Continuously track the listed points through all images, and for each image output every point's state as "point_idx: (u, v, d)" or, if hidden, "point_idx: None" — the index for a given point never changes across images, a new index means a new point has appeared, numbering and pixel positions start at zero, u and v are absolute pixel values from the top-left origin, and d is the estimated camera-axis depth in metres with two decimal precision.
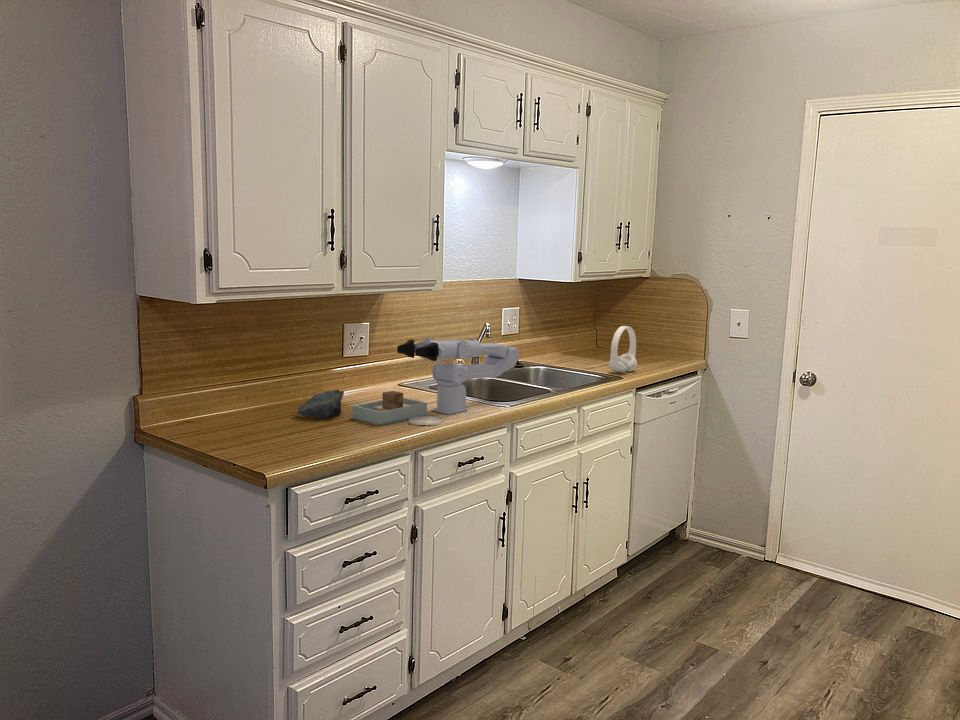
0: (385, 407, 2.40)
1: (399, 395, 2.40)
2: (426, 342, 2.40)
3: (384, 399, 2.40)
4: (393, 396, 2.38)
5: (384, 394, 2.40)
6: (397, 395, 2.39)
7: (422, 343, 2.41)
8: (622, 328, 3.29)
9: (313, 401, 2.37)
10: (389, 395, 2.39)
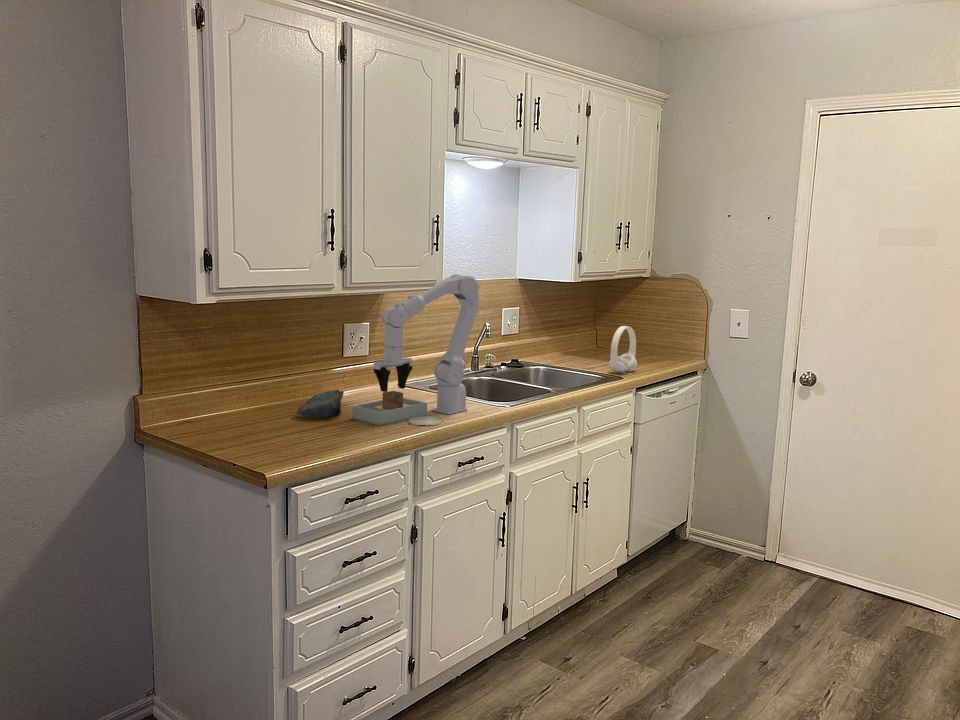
0: (385, 407, 2.40)
1: (399, 395, 2.40)
2: None
3: (384, 399, 2.40)
4: (393, 396, 2.38)
5: (384, 394, 2.40)
6: (397, 395, 2.39)
7: None
8: (622, 328, 3.29)
9: (313, 401, 2.37)
10: (389, 395, 2.39)
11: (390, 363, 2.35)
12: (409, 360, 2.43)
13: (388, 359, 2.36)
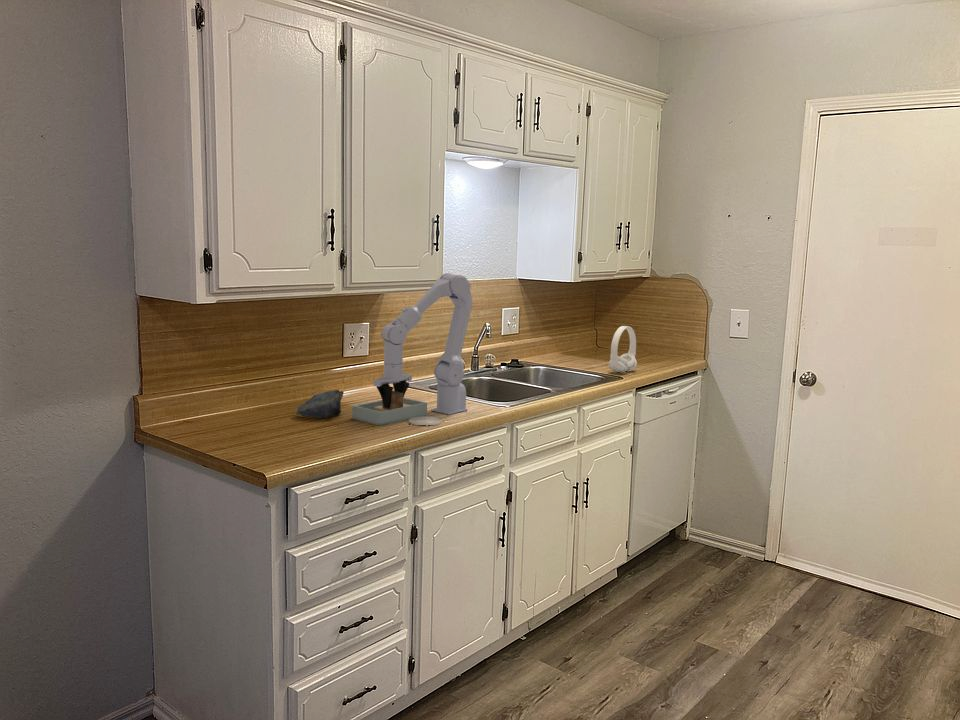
0: None
1: (399, 395, 2.40)
2: None
3: None
4: (393, 396, 2.38)
5: None
6: (397, 395, 2.39)
7: None
8: (622, 328, 3.29)
9: (313, 401, 2.37)
10: None
11: (390, 380, 2.36)
12: (409, 376, 2.44)
13: (388, 376, 2.37)
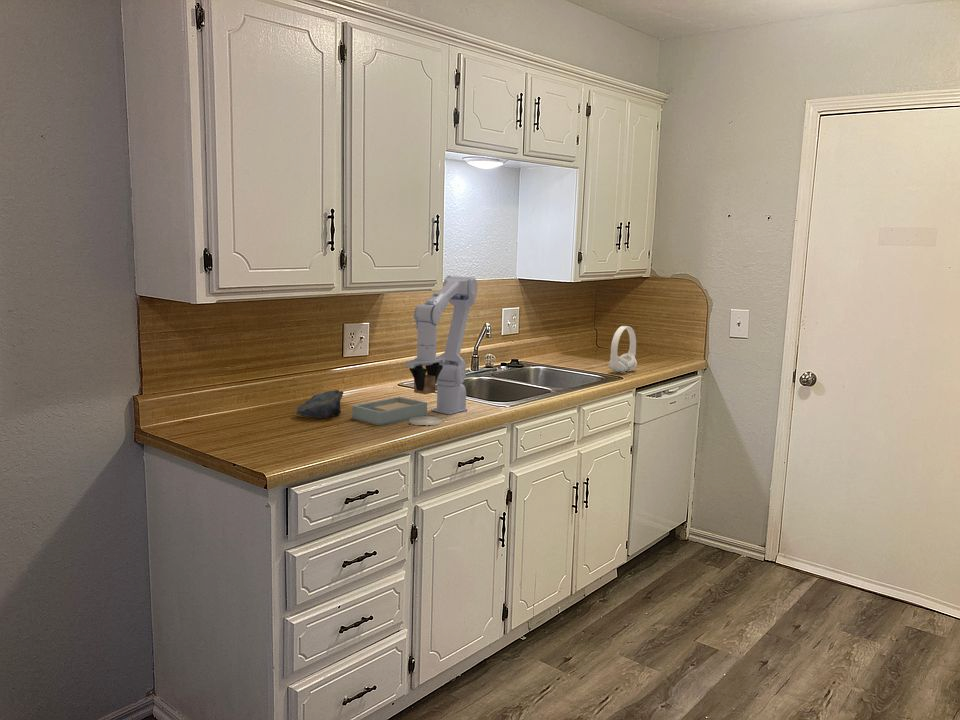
0: (417, 391, 2.34)
1: (431, 378, 2.33)
2: None
3: None
4: (425, 379, 2.31)
5: None
6: (429, 378, 2.33)
7: None
8: (622, 328, 3.29)
9: (313, 401, 2.37)
10: None
11: (424, 362, 2.29)
12: (442, 359, 2.37)
13: (421, 358, 2.30)
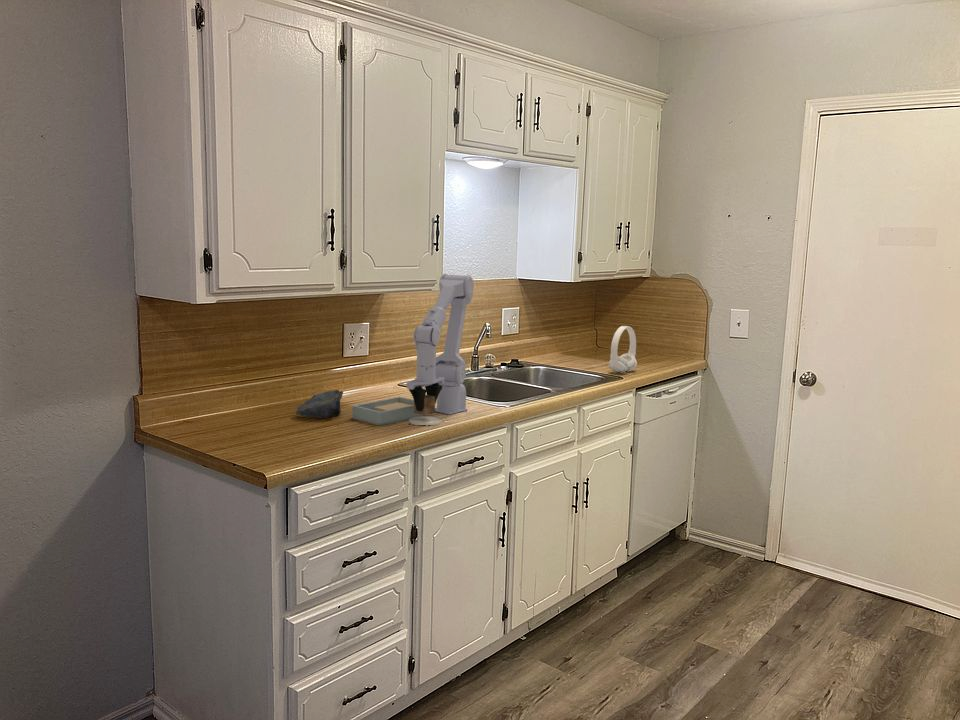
0: (417, 411, 2.34)
1: (431, 399, 2.34)
2: None
3: None
4: (425, 400, 2.32)
5: None
6: (429, 399, 2.33)
7: None
8: (622, 328, 3.29)
9: (312, 401, 2.37)
10: None
11: (423, 383, 2.30)
12: (441, 379, 2.38)
13: (421, 379, 2.31)
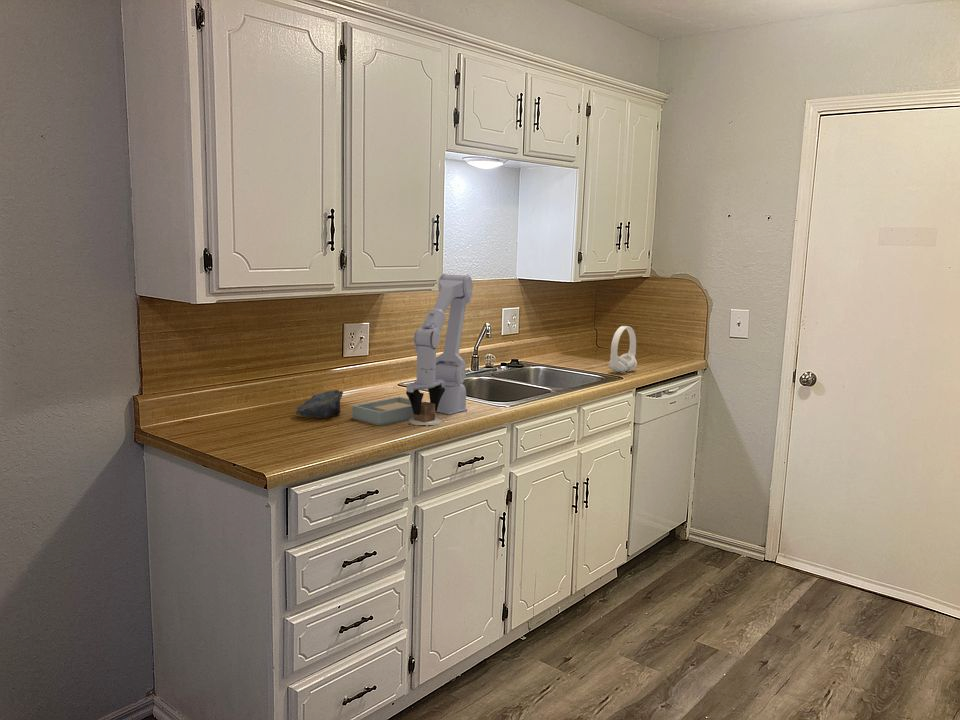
0: (417, 418, 2.35)
1: (431, 407, 2.35)
2: None
3: None
4: (425, 407, 2.33)
5: None
6: (429, 406, 2.34)
7: None
8: (622, 328, 3.29)
9: (312, 401, 2.37)
10: (421, 406, 2.33)
11: (423, 386, 2.30)
12: (441, 382, 2.38)
13: (421, 382, 2.31)
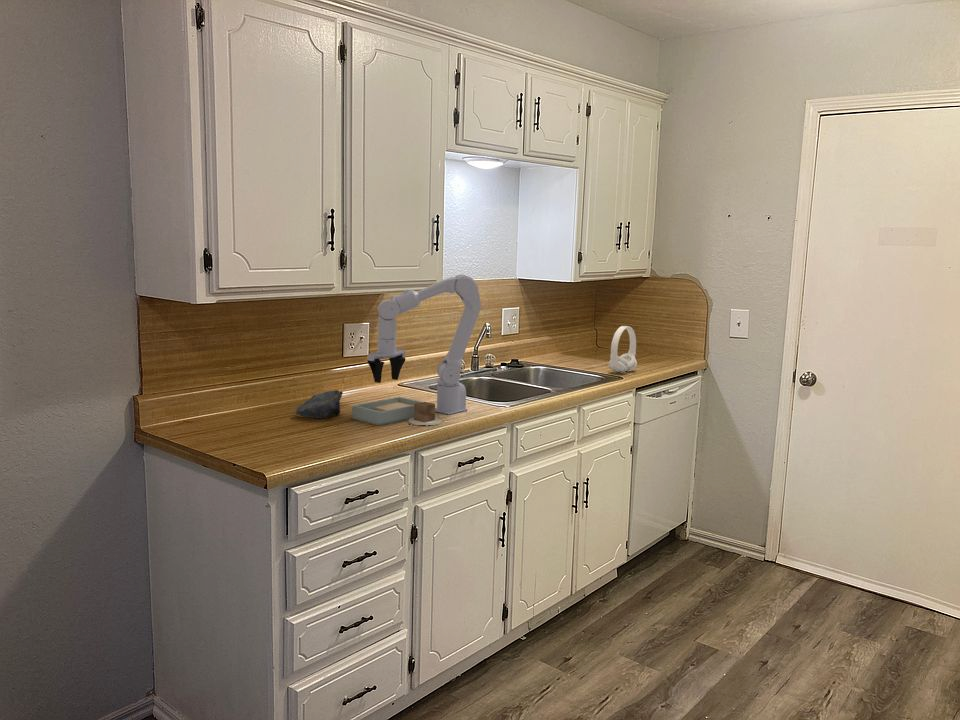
0: (417, 418, 2.35)
1: (431, 407, 2.35)
2: None
3: (416, 410, 2.35)
4: (425, 407, 2.33)
5: (416, 405, 2.35)
6: (429, 406, 2.34)
7: None
8: (622, 328, 3.29)
9: (312, 402, 2.37)
10: (421, 406, 2.33)
11: (384, 355, 2.41)
12: (402, 352, 2.49)
13: (382, 351, 2.42)
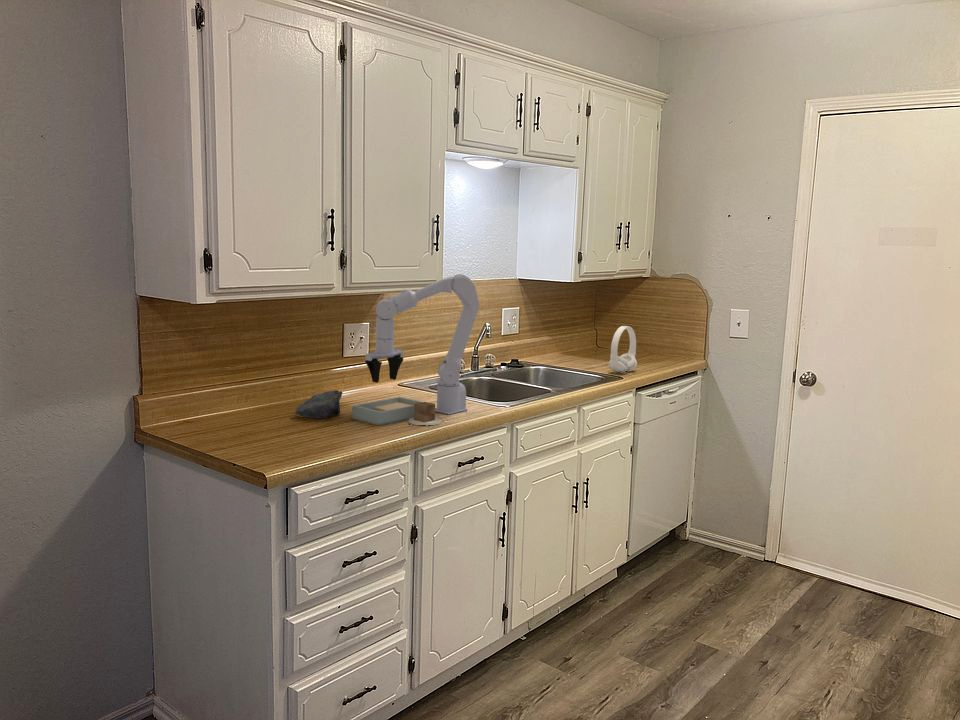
0: (417, 418, 2.35)
1: (431, 407, 2.35)
2: None
3: (416, 410, 2.35)
4: (425, 407, 2.33)
5: (416, 405, 2.35)
6: (429, 406, 2.34)
7: None
8: (622, 328, 3.29)
9: (312, 401, 2.37)
10: (421, 406, 2.33)
11: (381, 354, 2.42)
12: (400, 352, 2.49)
13: (379, 351, 2.43)
